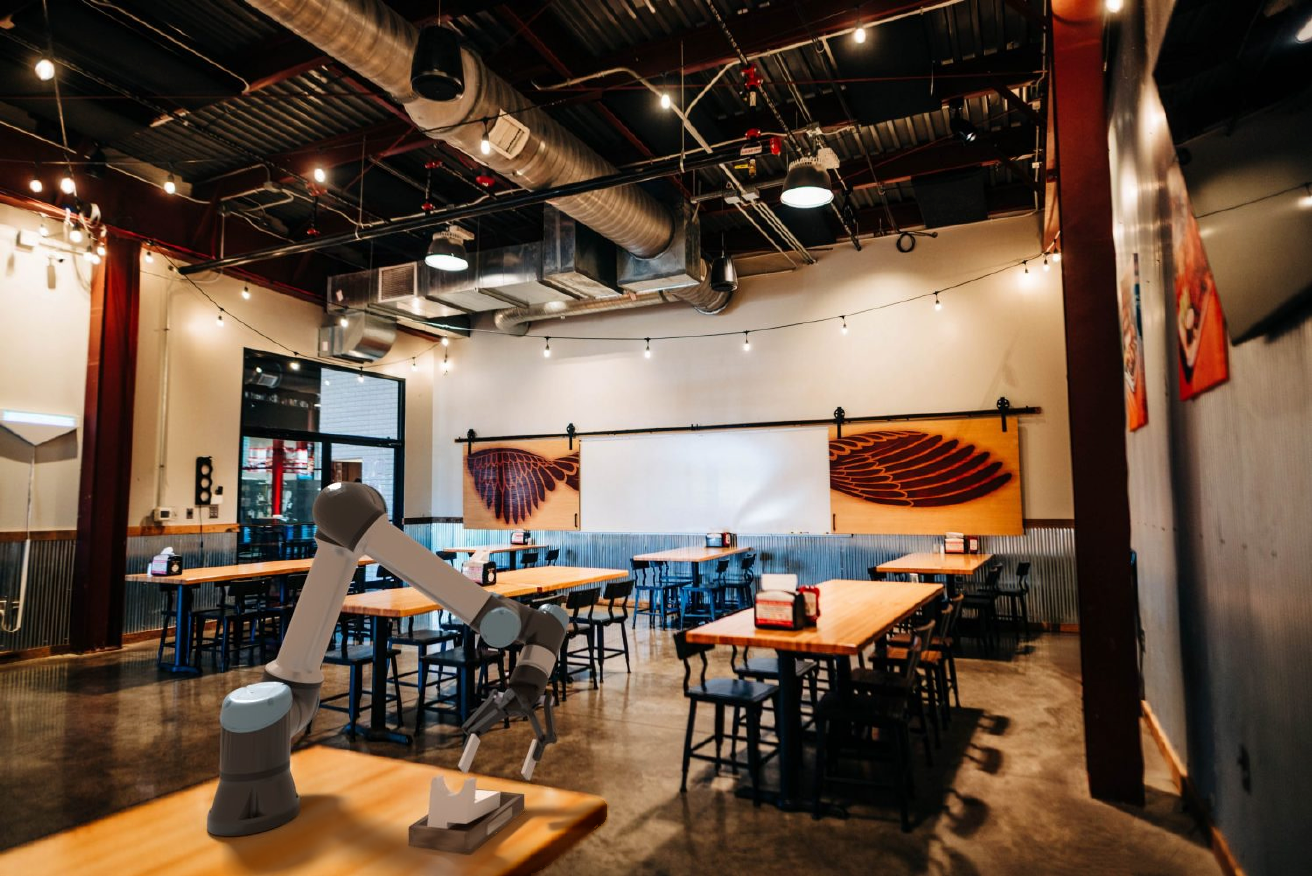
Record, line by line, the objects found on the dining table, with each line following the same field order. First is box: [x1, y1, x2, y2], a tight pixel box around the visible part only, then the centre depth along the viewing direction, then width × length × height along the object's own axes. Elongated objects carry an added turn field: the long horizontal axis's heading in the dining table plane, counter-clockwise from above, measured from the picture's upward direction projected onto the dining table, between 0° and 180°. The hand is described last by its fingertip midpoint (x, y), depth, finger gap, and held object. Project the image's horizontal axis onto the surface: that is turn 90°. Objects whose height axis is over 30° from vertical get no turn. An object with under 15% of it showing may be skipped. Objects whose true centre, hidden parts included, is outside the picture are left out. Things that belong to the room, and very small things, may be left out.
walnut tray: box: [408, 788, 525, 855], centre depth 131 cm, size 12×18×3 cm
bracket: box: [427, 775, 500, 828], centre depth 131 cm, size 13×7×8 cm, turn 167°
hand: (493, 773), depth 139 cm, fingers open, 13 cm apart
